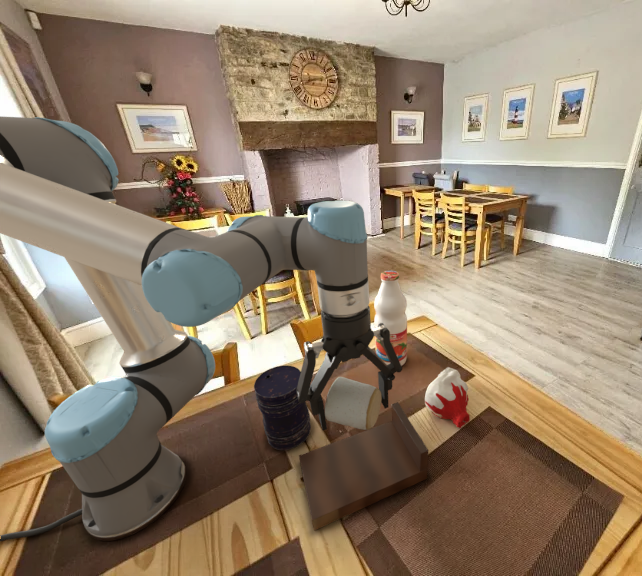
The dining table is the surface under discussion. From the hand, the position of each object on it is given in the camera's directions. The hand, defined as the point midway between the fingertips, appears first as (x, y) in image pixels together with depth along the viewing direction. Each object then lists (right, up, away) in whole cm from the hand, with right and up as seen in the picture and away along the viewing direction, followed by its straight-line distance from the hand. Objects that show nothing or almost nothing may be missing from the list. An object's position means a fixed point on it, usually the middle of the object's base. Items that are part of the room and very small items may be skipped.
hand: (354, 413), depth 56 cm
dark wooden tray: (+1, -14, +5) cm, 15 cm away
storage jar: (-16, -10, +15) cm, 24 cm away
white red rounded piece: (+21, -7, +19) cm, 29 cm away
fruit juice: (+8, +1, +38) cm, 38 cm away
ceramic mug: (+1, 0, 0) cm, 1 cm away
